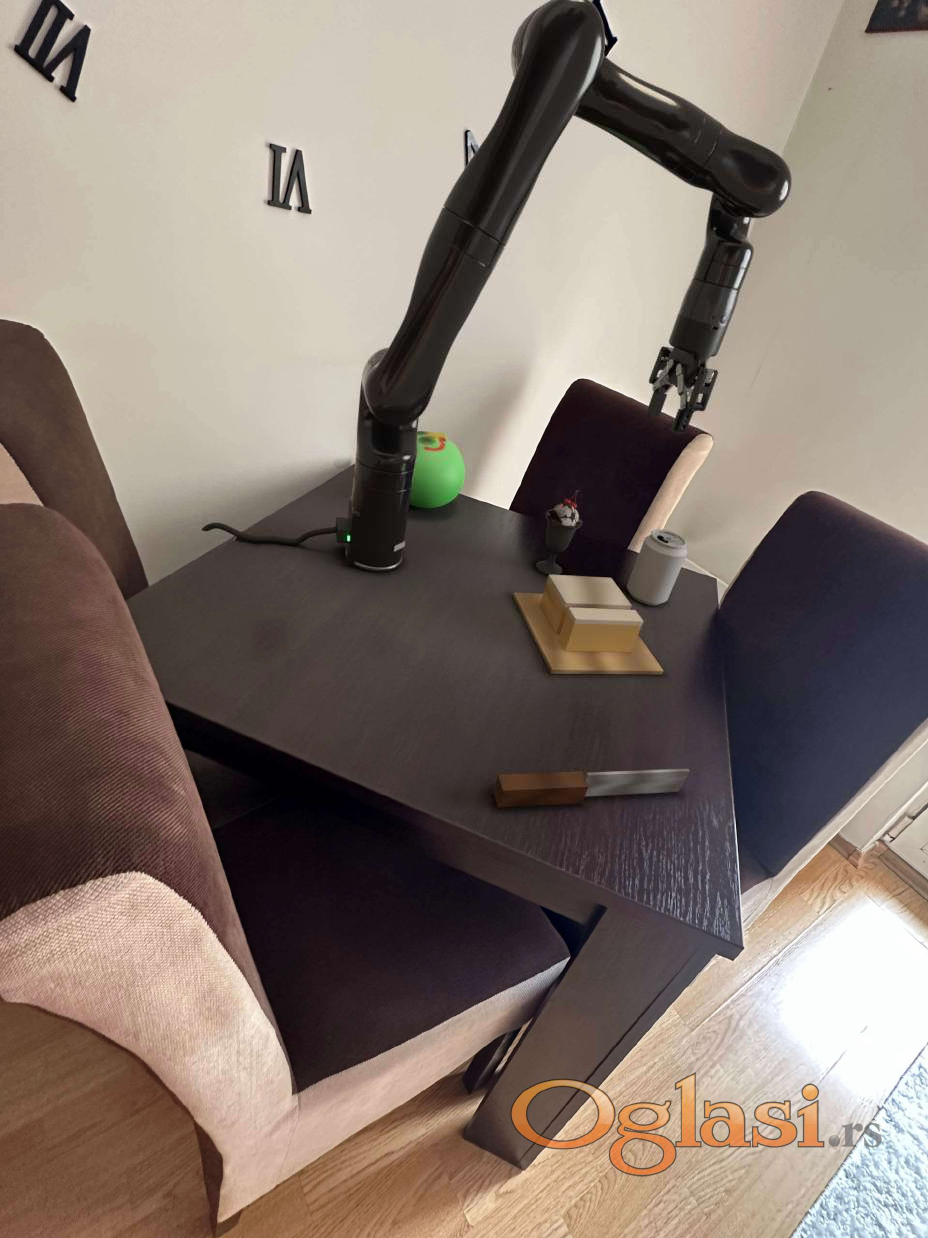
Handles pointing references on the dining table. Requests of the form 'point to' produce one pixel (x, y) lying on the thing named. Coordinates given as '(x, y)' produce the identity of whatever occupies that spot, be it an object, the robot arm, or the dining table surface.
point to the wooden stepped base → (549, 616)
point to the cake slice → (600, 630)
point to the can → (657, 567)
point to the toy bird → (436, 471)
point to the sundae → (559, 533)
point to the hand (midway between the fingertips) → (664, 424)
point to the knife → (581, 786)
